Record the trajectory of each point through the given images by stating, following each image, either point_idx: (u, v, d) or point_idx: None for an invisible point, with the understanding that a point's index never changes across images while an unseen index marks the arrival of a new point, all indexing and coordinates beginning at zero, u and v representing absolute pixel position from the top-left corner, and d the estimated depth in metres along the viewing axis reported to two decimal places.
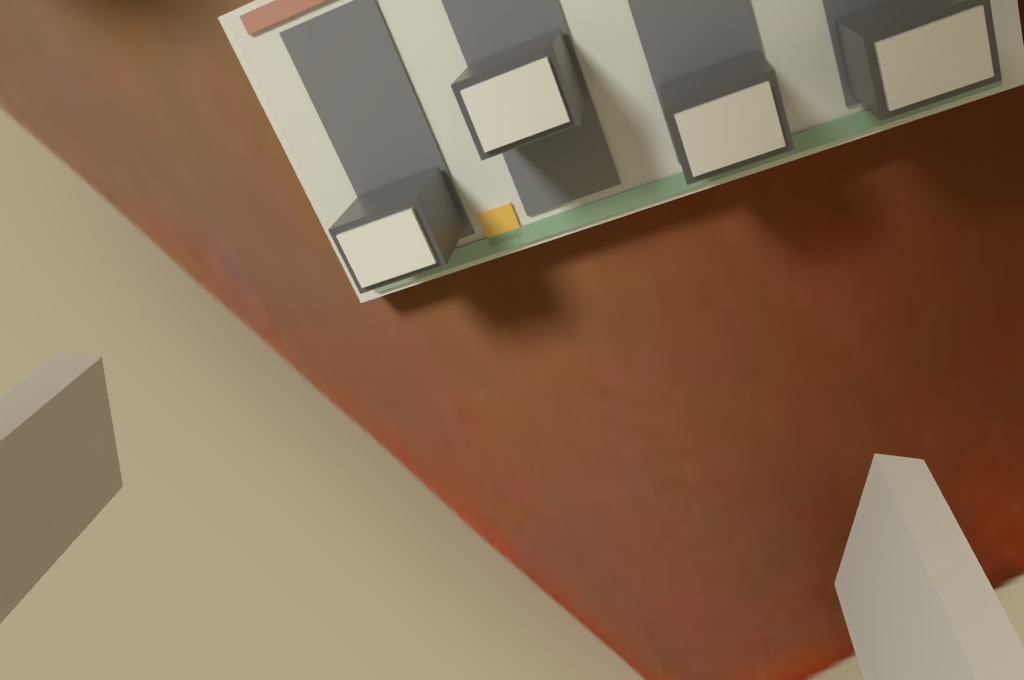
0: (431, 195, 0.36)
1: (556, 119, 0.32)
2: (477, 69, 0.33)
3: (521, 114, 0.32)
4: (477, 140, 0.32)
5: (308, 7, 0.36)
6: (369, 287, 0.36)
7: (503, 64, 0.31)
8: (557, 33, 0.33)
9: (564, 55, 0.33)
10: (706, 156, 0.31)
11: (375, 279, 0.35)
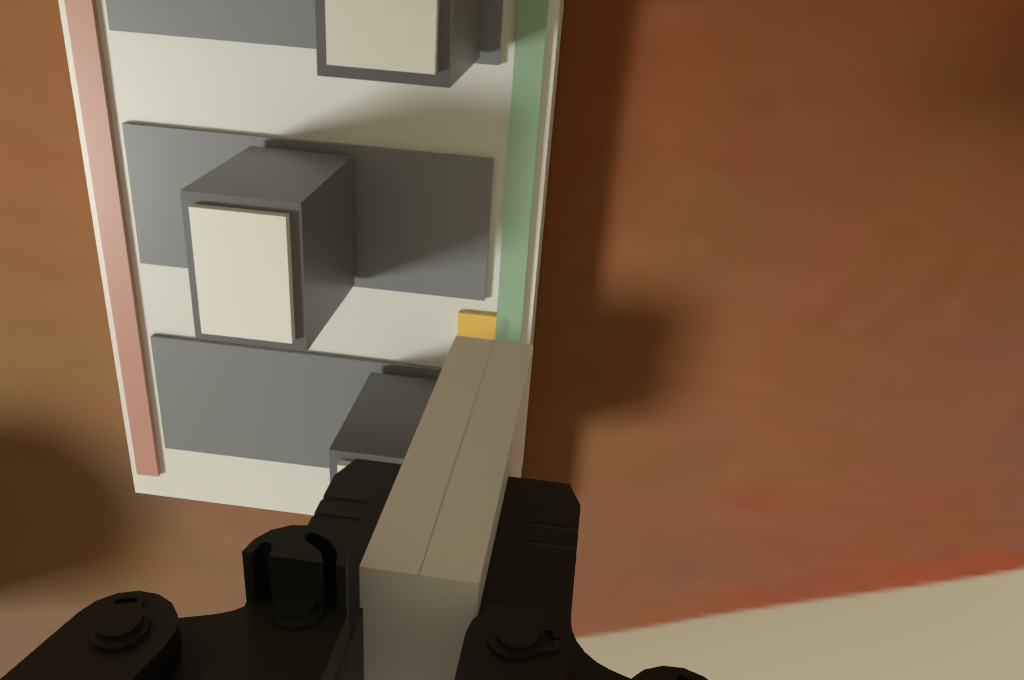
0: (365, 416, 0.25)
1: (276, 232, 0.21)
2: None
3: (255, 274, 0.21)
4: (278, 342, 0.22)
5: (150, 404, 0.30)
6: None
7: (189, 262, 0.22)
8: (230, 159, 0.24)
9: (251, 166, 0.23)
10: (408, 40, 0.18)
11: None
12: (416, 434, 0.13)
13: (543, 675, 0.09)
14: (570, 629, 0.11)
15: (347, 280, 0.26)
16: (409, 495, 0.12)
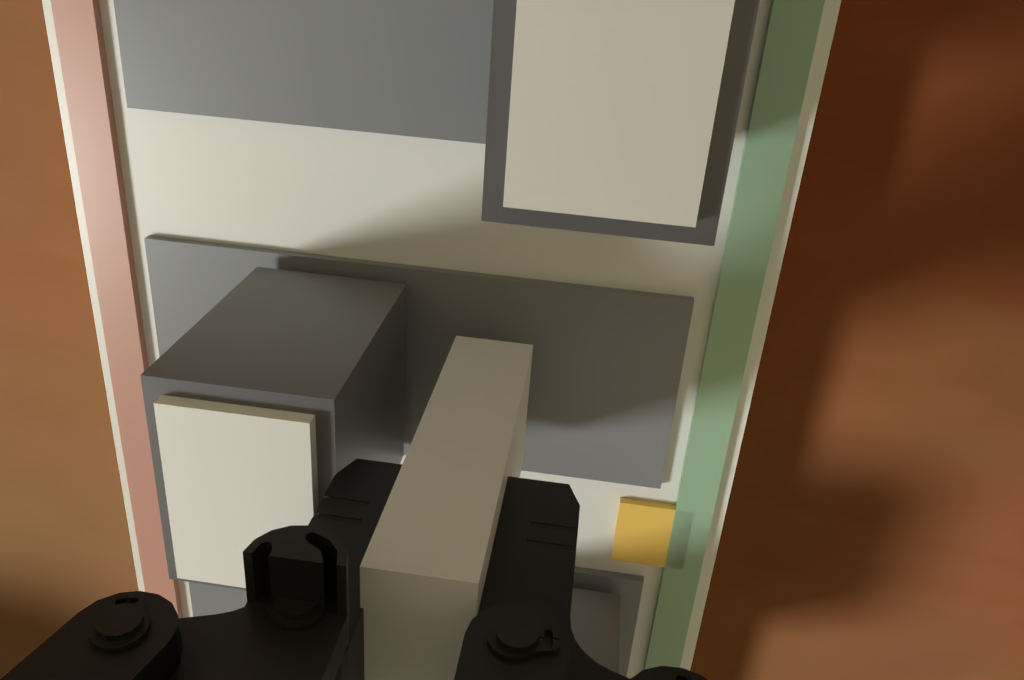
0: None
1: (294, 445, 0.13)
2: None
3: (260, 502, 0.13)
4: None
5: (179, 596, 0.22)
6: None
7: (158, 475, 0.14)
8: (226, 297, 0.16)
9: (256, 312, 0.15)
10: (655, 170, 0.10)
11: None
12: (416, 434, 0.13)
13: (542, 675, 0.09)
14: (569, 629, 0.11)
15: (395, 457, 0.18)
16: (409, 495, 0.12)
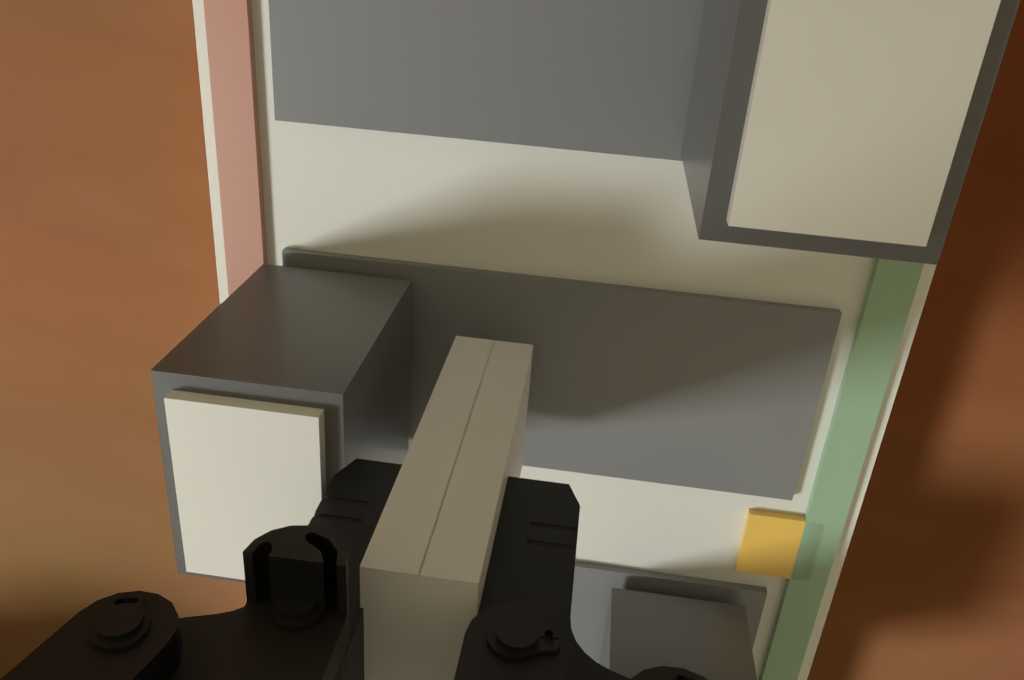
0: None
1: (303, 440, 0.13)
2: None
3: (269, 496, 0.14)
4: None
5: None
6: None
7: (168, 470, 0.14)
8: (234, 293, 0.16)
9: (263, 309, 0.15)
10: (891, 189, 0.10)
11: None
12: (416, 434, 0.13)
13: (542, 675, 0.09)
14: (570, 629, 0.11)
15: (400, 453, 0.18)
16: (409, 495, 0.12)
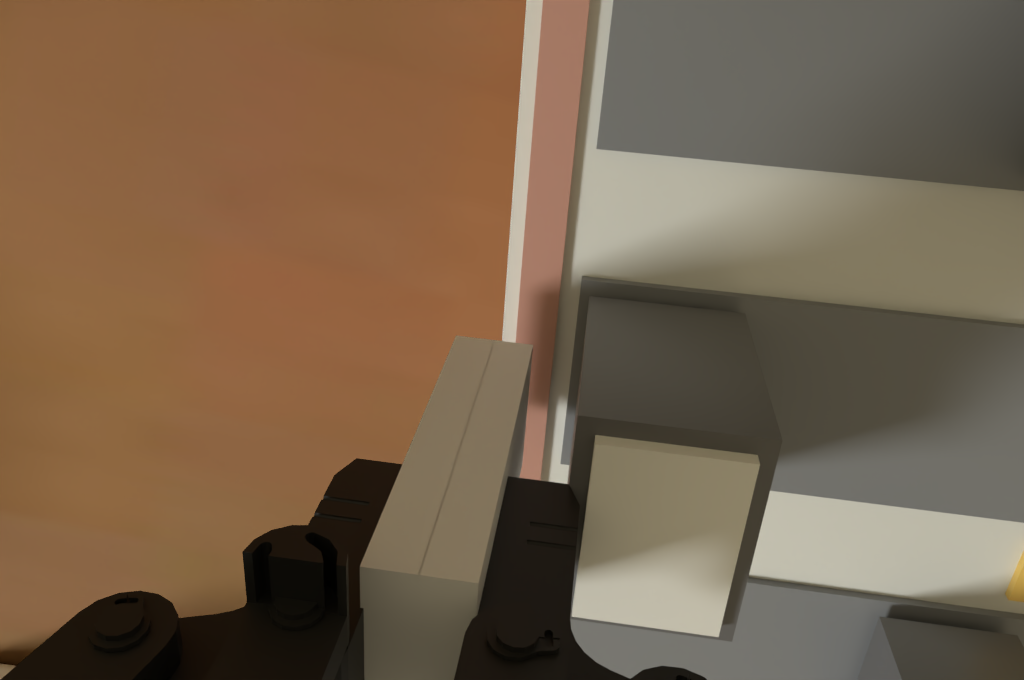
0: None
1: (738, 485, 0.13)
2: None
3: (684, 542, 0.13)
4: None
5: None
6: None
7: None
8: (586, 328, 0.16)
9: (630, 346, 0.15)
10: None
11: None
12: (416, 434, 0.13)
13: (543, 675, 0.09)
14: (570, 629, 0.11)
15: None
16: (409, 495, 0.12)
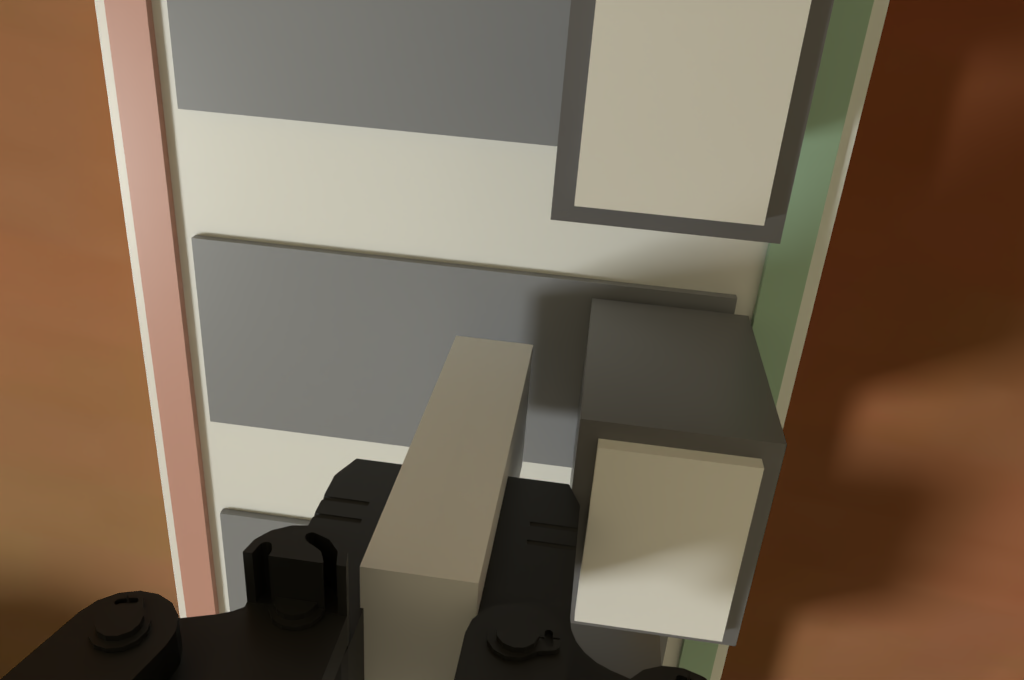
0: None
1: (742, 490, 0.13)
2: None
3: (687, 546, 0.13)
4: None
5: (216, 593, 0.22)
6: None
7: None
8: (589, 331, 0.15)
9: (633, 348, 0.15)
10: (726, 169, 0.11)
11: None
12: (416, 434, 0.13)
13: (543, 675, 0.09)
14: (569, 629, 0.11)
15: None
16: (409, 495, 0.12)
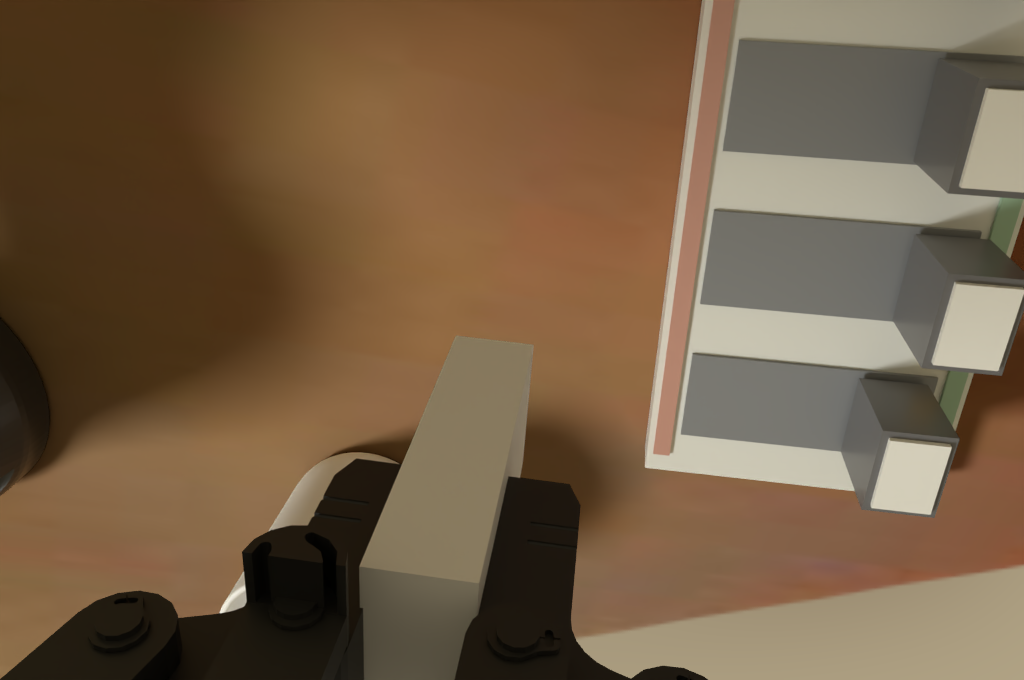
0: (885, 408, 0.37)
1: (1015, 299, 0.32)
2: (915, 331, 0.35)
3: (988, 326, 0.32)
4: (981, 370, 0.33)
5: (676, 403, 0.42)
6: (933, 507, 0.36)
7: (934, 318, 0.33)
8: (924, 246, 0.35)
9: (949, 251, 0.34)
10: (1021, 173, 0.30)
11: (930, 500, 0.36)
12: (416, 434, 0.13)
13: (543, 675, 0.09)
14: (570, 629, 0.11)
15: None
16: (409, 495, 0.12)
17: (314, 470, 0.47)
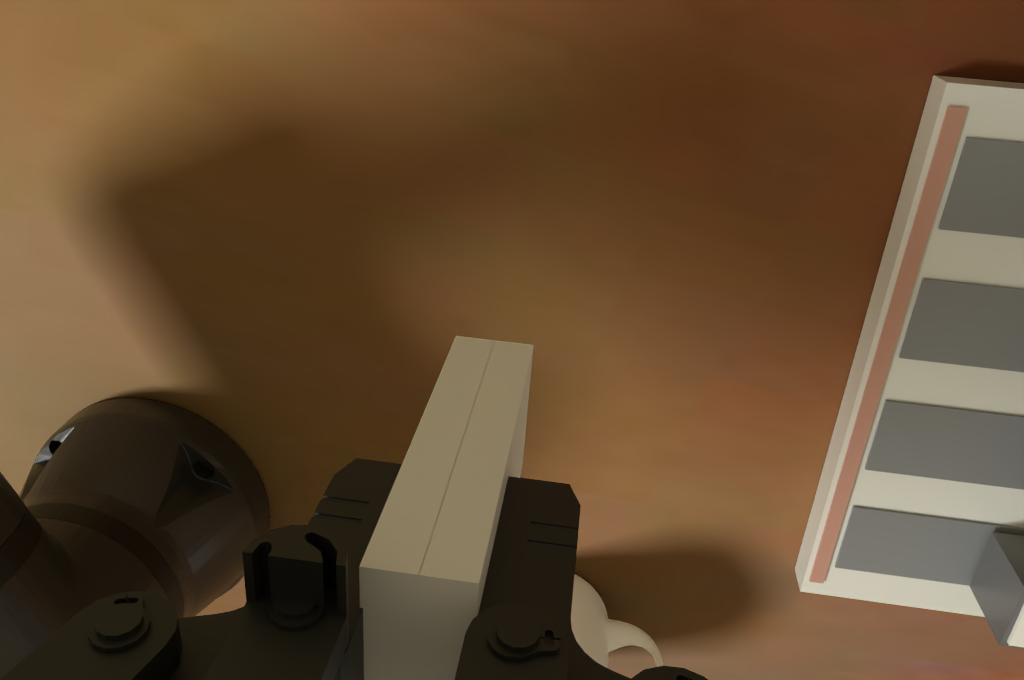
0: (1020, 564, 0.46)
1: None
2: None
3: None
4: None
5: (833, 543, 0.50)
6: None
7: None
8: None
9: None
10: None
11: None
12: (416, 434, 0.13)
13: (543, 675, 0.09)
14: (570, 629, 0.11)
15: None
16: (409, 495, 0.12)
17: None
